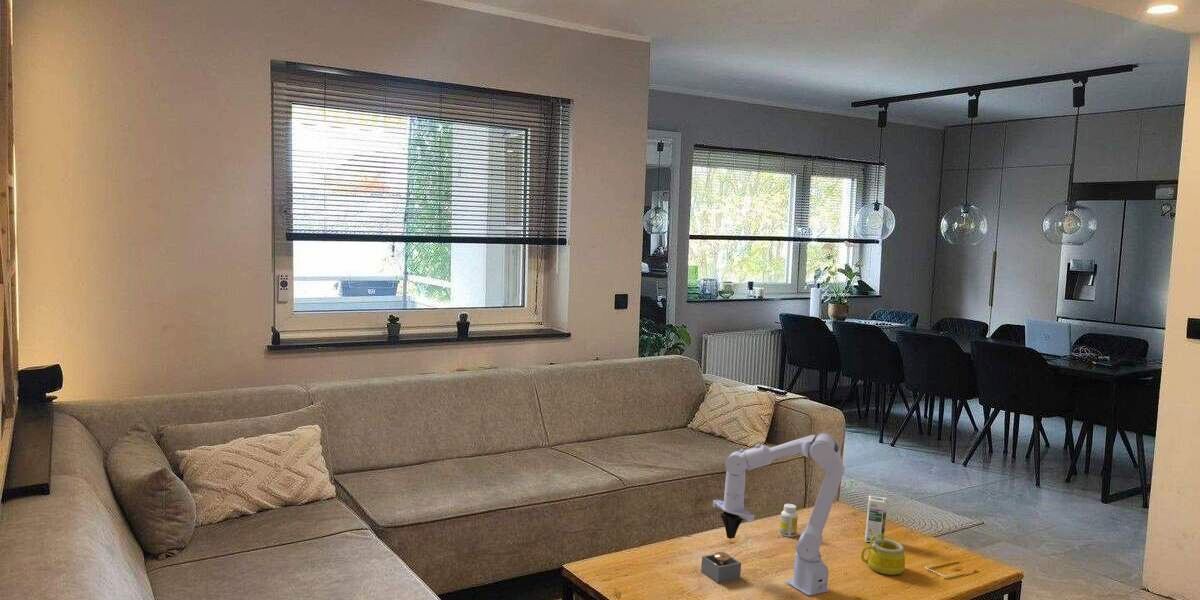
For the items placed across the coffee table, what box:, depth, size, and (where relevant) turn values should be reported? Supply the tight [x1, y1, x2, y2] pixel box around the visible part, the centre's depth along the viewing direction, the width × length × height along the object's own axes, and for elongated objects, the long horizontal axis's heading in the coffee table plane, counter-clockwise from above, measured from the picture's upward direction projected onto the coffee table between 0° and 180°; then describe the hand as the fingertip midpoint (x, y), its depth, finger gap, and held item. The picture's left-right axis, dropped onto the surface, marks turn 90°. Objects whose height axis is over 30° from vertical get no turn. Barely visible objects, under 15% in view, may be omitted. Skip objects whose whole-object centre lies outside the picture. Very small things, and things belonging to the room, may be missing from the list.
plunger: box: [713, 551, 731, 566], centre depth 245 cm, size 6×6×5 cm
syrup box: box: [864, 495, 888, 543], centre depth 278 cm, size 6×6×14 cm
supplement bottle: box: [779, 503, 799, 538], centre depth 280 cm, size 5×5×10 cm
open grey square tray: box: [700, 551, 742, 584], centre depth 245 cm, size 8×8×5 cm
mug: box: [860, 529, 906, 576], centre depth 256 cm, size 13×11×12 cm
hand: (730, 537), depth 249 cm, fingers closed
